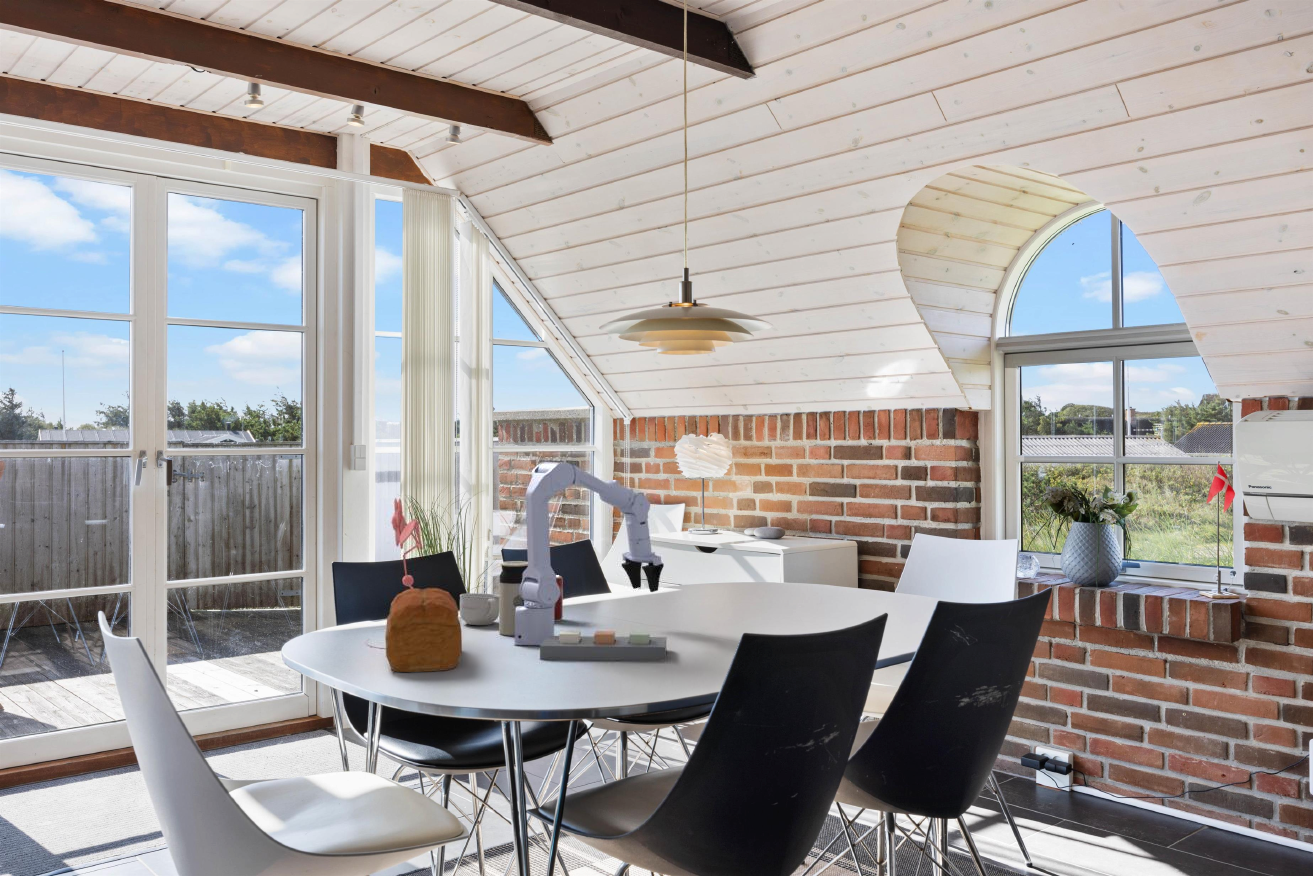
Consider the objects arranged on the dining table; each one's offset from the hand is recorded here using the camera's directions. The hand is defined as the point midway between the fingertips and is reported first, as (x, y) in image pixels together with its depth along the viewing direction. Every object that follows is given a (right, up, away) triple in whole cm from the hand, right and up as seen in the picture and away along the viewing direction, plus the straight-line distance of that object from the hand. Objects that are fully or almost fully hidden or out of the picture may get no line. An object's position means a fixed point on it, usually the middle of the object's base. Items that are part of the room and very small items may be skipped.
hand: (645, 589), depth 262 cm
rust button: (-9, -8, -32) cm, 34 cm away
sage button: (-1, -8, -32) cm, 34 cm away
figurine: (-61, -10, -18) cm, 64 cm away
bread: (-49, -10, -38) cm, 63 cm away
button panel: (-9, -10, -32) cm, 35 cm away
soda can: (-27, -11, +13) cm, 32 cm away
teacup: (-44, -11, +6) cm, 45 cm away
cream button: (-17, -8, -32) cm, 37 cm away
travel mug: (-33, -10, -6) cm, 35 cm away
